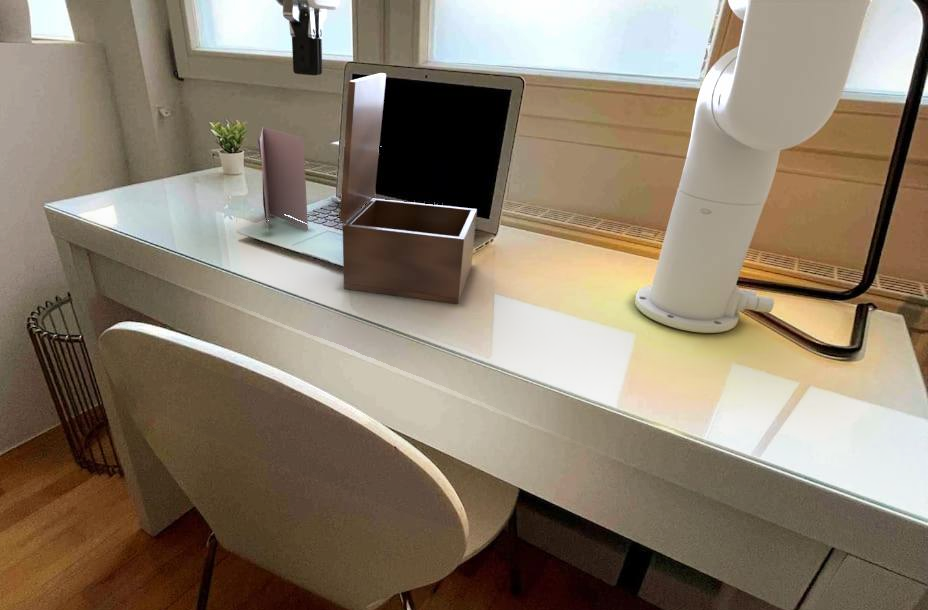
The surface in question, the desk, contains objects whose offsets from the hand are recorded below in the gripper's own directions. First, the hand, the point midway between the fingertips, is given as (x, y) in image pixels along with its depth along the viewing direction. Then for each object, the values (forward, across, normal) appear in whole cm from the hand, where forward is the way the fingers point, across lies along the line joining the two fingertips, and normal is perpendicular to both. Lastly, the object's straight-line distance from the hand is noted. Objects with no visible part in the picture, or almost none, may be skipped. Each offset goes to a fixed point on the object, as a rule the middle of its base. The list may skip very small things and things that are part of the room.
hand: (307, 73), depth 71 cm
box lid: (+8, 0, -8) cm, 11 cm away
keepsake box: (+25, 0, -15) cm, 29 cm away
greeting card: (+26, +16, +11) cm, 32 cm away
